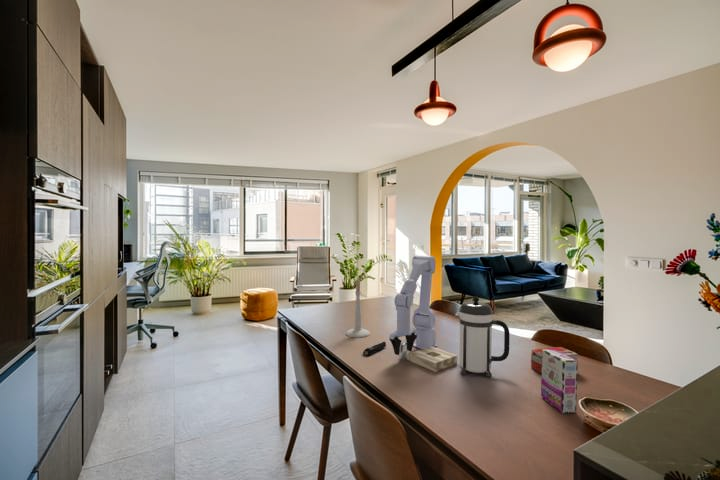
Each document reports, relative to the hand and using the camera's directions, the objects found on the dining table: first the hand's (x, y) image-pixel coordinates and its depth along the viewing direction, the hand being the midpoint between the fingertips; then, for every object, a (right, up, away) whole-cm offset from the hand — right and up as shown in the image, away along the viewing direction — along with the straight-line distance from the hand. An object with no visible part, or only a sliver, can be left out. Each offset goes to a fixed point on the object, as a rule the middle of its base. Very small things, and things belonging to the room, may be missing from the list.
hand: (403, 352), depth 149 cm
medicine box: (+59, -4, -11) cm, 60 cm away
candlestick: (-20, -2, +37) cm, 42 cm away
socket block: (+13, -3, -3) cm, 13 cm away
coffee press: (+29, -4, -12) cm, 31 cm away
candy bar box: (+45, -5, -38) cm, 59 cm away
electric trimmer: (-12, -3, +10) cm, 16 cm away
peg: (0, -3, 0) cm, 3 cm away
